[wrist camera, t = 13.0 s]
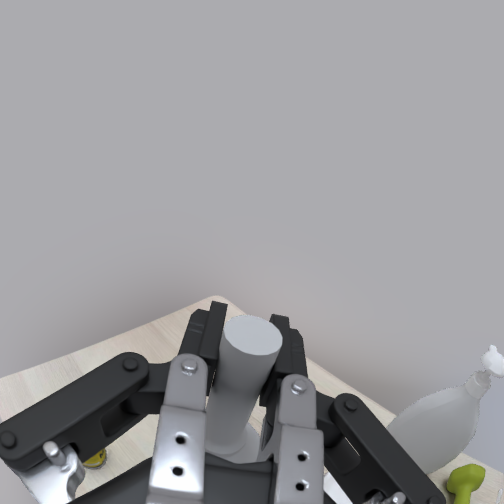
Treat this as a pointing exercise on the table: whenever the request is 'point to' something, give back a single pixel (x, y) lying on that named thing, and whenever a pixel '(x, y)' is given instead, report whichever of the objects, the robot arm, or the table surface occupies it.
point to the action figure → (499, 496)
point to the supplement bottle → (96, 460)
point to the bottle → (239, 387)
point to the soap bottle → (445, 418)
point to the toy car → (335, 490)
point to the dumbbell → (465, 482)
